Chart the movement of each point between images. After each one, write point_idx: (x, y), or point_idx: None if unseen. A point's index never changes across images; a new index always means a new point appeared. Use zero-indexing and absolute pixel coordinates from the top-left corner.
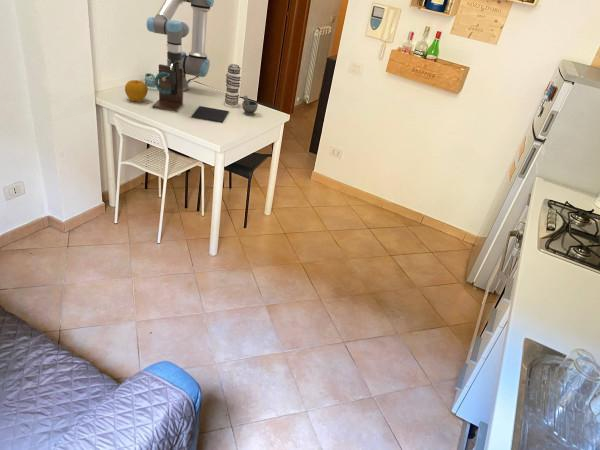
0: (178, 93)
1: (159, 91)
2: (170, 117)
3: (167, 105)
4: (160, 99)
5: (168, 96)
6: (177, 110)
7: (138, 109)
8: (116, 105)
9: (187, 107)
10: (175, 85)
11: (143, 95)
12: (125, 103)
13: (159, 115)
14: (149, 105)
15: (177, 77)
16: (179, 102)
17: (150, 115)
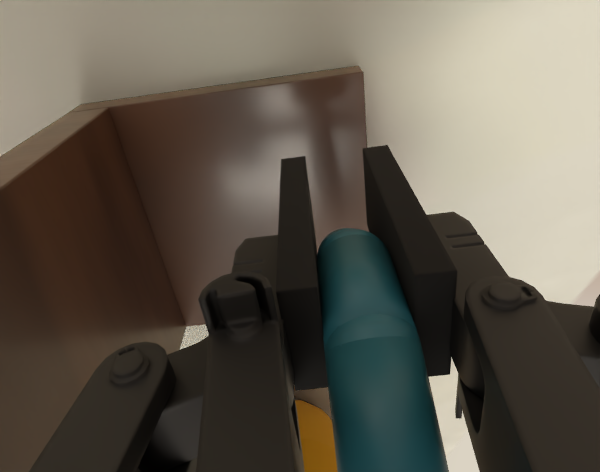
0: (76, 205)
1: None
2: (568, 45)
3: None
4: (182, 319)
5: (145, 283)
6: (313, 72)
7: None
8: (447, 451)
9: (113, 17)
10: (444, 253)
11: (314, 428)
12: None
13: (543, 167)
14: None
15: (232, 439)
16: (117, 142)
17: (571, 229)
